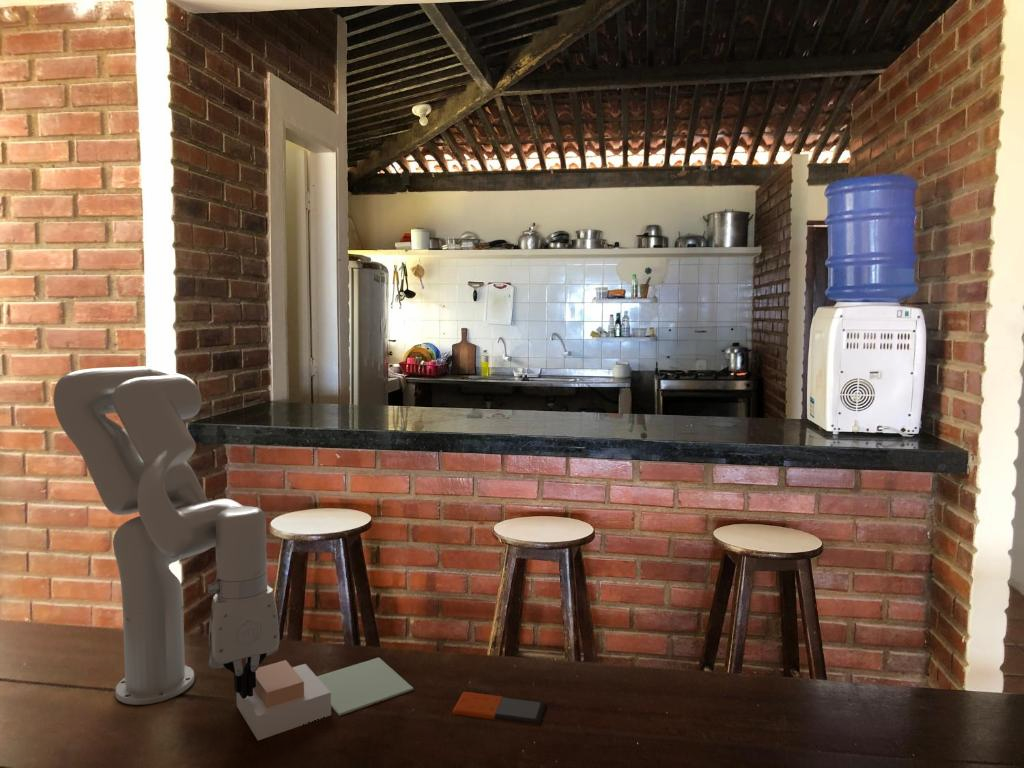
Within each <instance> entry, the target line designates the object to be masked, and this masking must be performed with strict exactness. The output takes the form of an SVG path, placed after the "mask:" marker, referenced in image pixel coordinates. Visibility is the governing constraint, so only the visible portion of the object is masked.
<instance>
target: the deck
mask: <svg viewBox="0 0 1024 768" xmlns="http://www.w3.org/2000/svg"><path fill="white" fill-rule="evenodd" d="M291 667H292V668H293V669H294V670H295V672H296V673H297V674H298V675H299V676H300V677H301V679H302V680H303V681H304V696H303V697H299V698H296V699H293V700H290V701H287V702H284V703H281V704H278V705H274V706H271V707H268V708H267V707H266V705H265V704H264V702H263V701H262V699H261V698H260V696H259V695H258V694H257V692H256V691H255V689H254V688H253V696H251V697H249V696H247V697H246V698H244V699H242V697H241V696H240V694H239V692H238V693H236V707H237V709H238V711H239V713H240V714H241V716H242V717H243V719H244V721H245V722H246V724H247V726H248V727H249V729H250V730H251V732H252V733H253V735H254V737H255V739H256V740H257V741H261V740H263V739H266V738H270V737H273V736H275V735H278V734H281V733H284V732H287V731H290V730H293V729H295V728H298V727H301V726H303V724H304V725H307V724H309V723H308V722H310V723H312V721H313V722H315V721H314V720H316V721H318V720H317V719H319V720H322V719H324V718H323V717H325V718H327V717H330V716H332V707H331V692H330V691H329V690H328V689H327V688H326V686H325V685H324V684H323V683H322V682H321V681H320V680H319V679H318V677H317V676H318V675H316V674H315V673H314V672H313V671H312V669H311V668H310V667H309V666H308V665H307V664H306V663H303V664H299V665H296V666H291ZM321 718H322V719H321Z"/></svg>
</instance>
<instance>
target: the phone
mask: <svg viewBox="0 0 1024 768" xmlns="http://www.w3.org/2000/svg"><path fill="white" fill-rule="evenodd" d="M545 709H546V704H545V702H544V701H537V700H531V699H523V698H516V697H515V698H514V697H509V696H499V695H493V694H492V695H491V694H485V693H484V694H483V693H477V692H471V691H470V692H469V691H464V692H462V693H461V695H460V696H459V699H458V700H457V702H456V704H455V705H454V708H453V709H452V714H453V715H457V716H463V717H464V716H465V717H469V718H470V717H471V718H477V719H478V718H479V719H486V720H493V721H498V722H499V721H501V722H506V723H515V724H522V725H528V726H537V727H538V726H539V725H541V720H542V717H543V715H544V712H545Z"/></svg>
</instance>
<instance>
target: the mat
mask: <svg viewBox="0 0 1024 768" xmlns="http://www.w3.org/2000/svg"><path fill="white" fill-rule="evenodd" d="M316 676H317V677H318V679H319V680H320V681H321V682H322V683H323V684H324V685H325V686H326V688H327V689H328V690H329V691H330V692H331V709H333V711H334V712H335V713H336V714H337V716H338V717H340V716H343V715H346V714H348V713H352V712H354V711H358V710H360V709H364V708H367V707H368V706H372V705H375V704H378V703H380V701H381V702H383V701H385V700H389V699H392V698H394V697H397V696H400V695H404V694H405V693H409V692H411V691H414V687H413V686H412V685H411V684H409V683H408V682H407V681H406V680H405V679H404V678H403V677H402V676H400V675H399V674H398V673H397V672H396V670H394V669H393V668H392V667H390V666H389V665H388V664H387V663H386V662H385V661H384V660H383V659H381V658H380V657H376V658H372V659H370V660H367V661H362V662H359V663H356V664H352V665H350V666H347V667H343V668H339V669H336V670H334V671H330V672H328V673H324V674H321V675H316ZM374 703H375V704H374Z"/></svg>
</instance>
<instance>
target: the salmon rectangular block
mask: <svg viewBox="0 0 1024 768" xmlns="http://www.w3.org/2000/svg"><path fill="white" fill-rule="evenodd" d="M292 667H293V666H292V665H291V664H290V663H289V662H288V661H287V660H286V659H284V660H280V661H277V662H275V663H270V664H267V665H264V666H258V670H257V671H256V687H255V688H254V689H255V691H256V692H257V694H258V695H259V696H260V698H261V699H262V701H263V702H264V704H265V705H266V707H267V708H268V707H271V706H274V705H278V704H281V703H284V702H287V701H290V700H293V699H296V698H299V697H303V696H304V681H303V680H302V679H301V677H300V676H299V675H298V674H297V673H296V672H295V670H294V669H293V668H292Z"/></svg>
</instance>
